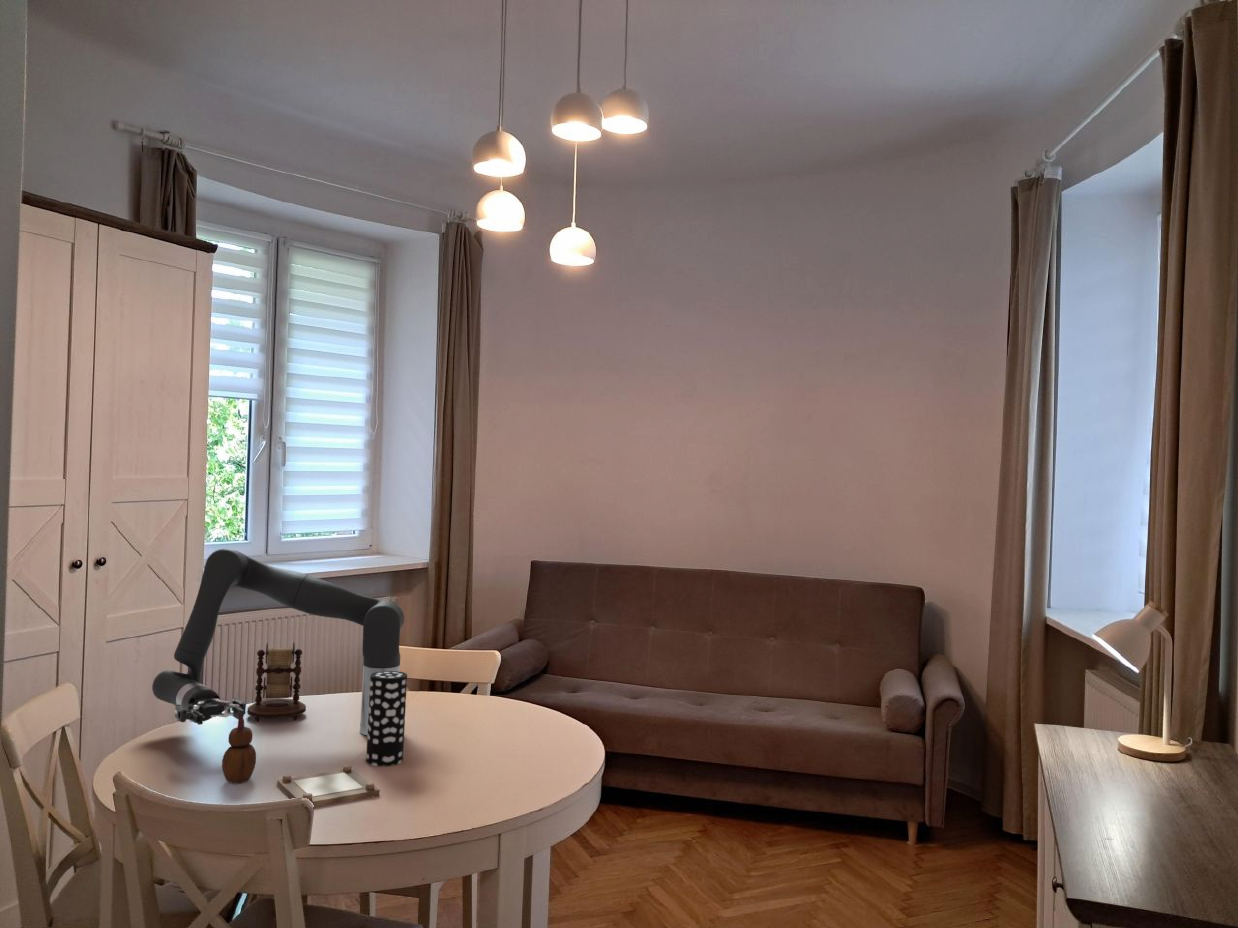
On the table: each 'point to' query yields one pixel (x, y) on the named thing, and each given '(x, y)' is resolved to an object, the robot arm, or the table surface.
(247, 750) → the wooden figurine
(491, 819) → the table surface
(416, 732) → the table surface
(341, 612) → the robot arm
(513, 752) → the table surface
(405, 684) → the spotted tube
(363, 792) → the base plate
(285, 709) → the scroll
